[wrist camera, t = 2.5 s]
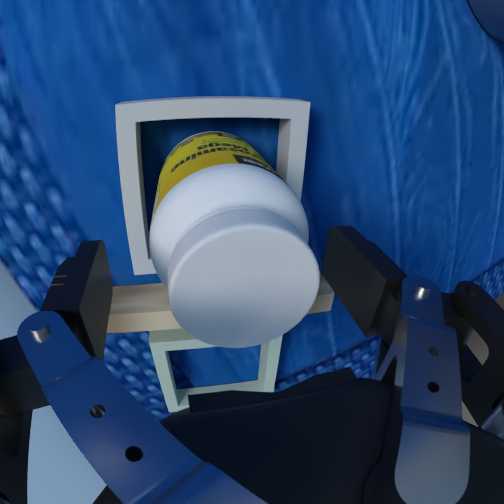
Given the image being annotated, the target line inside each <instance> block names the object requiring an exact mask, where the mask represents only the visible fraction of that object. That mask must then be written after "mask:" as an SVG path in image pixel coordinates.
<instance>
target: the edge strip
mask: <svg viewBox="0 0 504 504" xmlns="http://www.w3.org/2000/svg"><path fill="white" fill-rule="evenodd" d="M319 273H320V283H319V289H318V293H317V296H316V299H315V301H314V303H313V305H312V307H311V308H310V310H309V311H308V313H307V314H311V313H317V312H324V311H330V310H331V306H332V302H333V298H334V294H335V293H334V291H333V290H332V288H331V287H330V285H329V284H328V282H327V281H326V279H325V278H324V276H323V275H322V273H321V272H320V270H319ZM112 288H113V295H112V302H111V308H110V314H109V320H108V327H107V333H120V332H138V331H154V330H168V329H180V328H182V327H181V326H180V325H179V323H178V322H177V320H176V319H175V317H174V315H173V313H172V310H171V307H170V304H169V296H168V289H167V288H166V286H165V285H164V284H163V283H155V284H142V285H127V286H113V287H112Z"/></svg>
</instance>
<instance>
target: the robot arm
mask: <svg viewBox="0 0 504 504" xmlns="http://www.w3.org/2000/svg"><path fill="white" fill-rule="evenodd" d="M468 1H469V4H470V6H471V8H472V10H473V12H474V14H475V16H476V17H477V19H478V20H479V22H480V24H481V25H482V26H483V27H484V29H485V30H486V31H487V32H488V33H489V34H490V35H491V36H492V37H494V38H495V39H497V40H499V41H502V42H504V0H468ZM323 274H324V277H325V279H326V280H327V282H328V283H329V285H330V286H331V288H332V289H333V290H334V292H335V293H336V295H337V296H338V298H339V299H340V300H341V302H342V303H343V305H344V306H345V308H346V309H347V311H348V312H349V313H350V315H351V316H352V318H353V319H354V321H355V322H356V324H357V325H358V327H359V328H360V329H361V331H362V332H363V334H364V335H365V337H369V336H373V335H377V334H379V335H380V336H381V337H380V340H379V342H378V345H377V351H376V357H375V362H374V367H373V373H372V378H371V379H368V378H356V376H355V374H354V373H353V371H352V369H351V367H348V368H344V369H340V370H336V371H332V372H327V373H323V374H318V375H314V376H312V377H310V378H308V379H306V380H304V381H302V382H300V383H298V384H295V385H293V386H291V387H289V388H286V389H284V390H282V391H279V392H256V391H238V390H227V391H219V392H211V393H202V394H192V395H188V402H189V407H188V408H185V409H182V410H180V411H178V412H175V413H173V414H171V415H169V416H168V417H166V418H164V419H163V420H161V421H160V422H158V421H157V420H156V419H155V418H154V417H153V416H152V415H151V414H150V413H149V412H148V411H147V410H146V409H145V408H144V407H143V406H142V405H141V404H140V403H139V402H138V401H137V400H136V399H135V398H134V397H133V396H132V395H131V394H130V392H129V391H128V390H127V389H126V388H125V387H124V386H123V385H122V384H121V383H120V382H119V380H118V379H117V378H116V377H115V376H114V375H113V374H112V372H111V371H110V370H109V369H108V368H107V367H106V366H105V364H104V363H103V357H104V348H105V341H106V334H107V327H108V320H109V314H110V308H111V302H112V295H113V288H112V279H111V274H110V270H109V265H108V260H107V255H106V249H105V245H104V242H103V240H96V241H84V242H81V243H80V246H79V248H78V250H77V253H76V255H75V257H68V258H67V259H66V260H65V261H64V262H63V263H62V264H61V265H60V266H59V267H58V270H57V272H56V274H55V278H53V281H52V283H51V286H50V288H49V290H48V292H47V295H46V297H45V300H44V302H43V305H42V307H41V310H40V312H37V313H34V314H32V315H30V316H29V317H27V318H26V319H25V320H24V321H23V322H22V323H21V324H20V326H19V328H18V331H17V335H16V336H13V337H9V338H5V339H2V340H0V504H27V471H28V451H29V439H30V428H31V419H32V411H33V409H37V408H41V407H44V406H48V405H51V407H52V408H53V410H54V412H55V413H56V415H57V417H58V418H59V420H60V421H61V423H62V424H63V426H64V428H65V429H66V431H67V432H68V434H69V435H70V436H71V438H72V439H73V441H74V442H75V443H76V445H77V447H78V448H79V449H80V451H81V452H82V453H83V455H84V456H85V458H86V459H87V460H88V462H89V463H90V464H91V466H92V467H93V468H94V469H95V471H96V472H97V473H98V474H99V476H100V477H101V478H102V479H103V481H104V482H105V483H106V484H107V486H106V487H105V488H104V490H103V491H102V492H101V494H100V495H99V496H98V497H97V499H96V500H95V501H94V502H93V504H504V310H503V309H502V308H501V307H500V306H499V304H497V302H496V301H495V300H494V299H493V298H492V297H491V296H490V295H489V294H488V293H487V292H486V291H485V290H484V289H483V288H481V287H480V286H478V285H477V284H475V283H472V282H469V281H460V282H459V283H458V284H457V286H456V288H455V291H454V293H441V292H440V290H439V288H438V287H437V286H436V285H435V284H434V283H433V282H431V281H429V280H428V279H425V278H422V277H419V276H407V275H406V274H405V273H404V272H403V271H402V270H401V269H400V268H399V267H398V266H397V265H396V264H395V263H394V262H393V261H392V260H391V259H389V257H388V256H387V255H386V254H385V253H383V251H382V250H381V249H380V248H379V247H378V246H377V245H375V244H374V243H372V242H371V241H369V240H367V239H365V238H364V237H363V236H362V235H361V234H360V233H359V232H358V231H357V230H356V229H355V228H353V227H352V226H333V227H331V228H330V230H329V233H328V238H327V243H326V249H325V254H324V259H323ZM474 329H475V331H477V333H478V334H479V335H480V336H481V338H482V339H483V340H484V341H485V343H486V344H487V346H488V348H489V356H488V358H487V360H486V361H485V363H484V364H483V366H482V365H481V363H480V362H479V361H478V359H477V358H476V357H475V355H474V354H473V353H472V351H471V350H470V349H469V347H468V346H467V345H466V343H467V341H468V339H469V338H470V336H471V334H472V332H473V331H474ZM462 401H463V403H464V404H465V406H466V407H467V409H468V410H469V412H470V414H471V415H472V417H473V419H474V420H475V422H476V423H477V425H478V427H476V426H475V425H472V424H470V423H468V422H466V421H464V420H463V419H462Z"/></svg>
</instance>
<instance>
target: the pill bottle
mask: <svg viewBox="0 0 504 504" xmlns="http://www.w3.org/2000/svg"><path fill="white" fill-rule="evenodd" d="M308 240H309V228H308V221H307V217H306V214H305V211H304V209H303V206H302V204H301V202H300V200H299V199H298V197H297V196H296V194H295V192H294V191H293V190H292V189H291V188H290V187H289V185H288V184H287V183H286V182H285V181H284V180H283V179H282V178H281V177H280V176H279V174H278V173H277V172H276V171H275V170H274V169H273V168H272V167H271V166H270V165H269V164H268V163H267V162H266V161H265V160H264V159H263V158H262V157H261V156H260V155H259V154H258V153H257V151H256V150H254V149H253V148H252V147H251V146H250V145H249V144H248V143H247V142H245V141H244V140H242V139H241V138H239V137H237V136H235V135H232V134H229V133H225V132H219V131H208V132H202V133H198V134H195V135H192V136H190V137H188V138H186V139H185V140H183V141H182V142H180V143H179V144H178V145H177V146H176V147H175V148H174V149H173V150H172V151H171V152H170V153H169V155H168V156H167V158H166V160H165V162H164V164H163V166H162V169H161V172H160V176H159V182H158V187H157V192H156V197H155V203H154V209H153V215H152V221H151V227H150V233H149V243H150V254H151V259H152V262H153V265H154V268H155V271H156V272H157V274H158V276H159V278H160V280H161V281H162V282H163V284H164V285H165V286H166V288H167V289H168V296H169V304H170V307H171V310H172V313H173V315H174V317H175V319H176V320H177V322H178V323H179V325H180V326H181V327H182V328H183V329H184V330H185V331H186V332H187V333H189V334H190V335H191V336H193V337H194V338H196V339H198V340H200V341H202V342H204V343H207V344H210V345H214V346H219V347H225V348H243V347H250V346H255V345H259V344H262V343H266V342H268V341H271V340H273V339H275V338H277V337H279V336H281V335H283V334H285V333H286V332H288V331H289V330H291V329H292V328H293V327H294V326H295V325H297V324H298V323H299V322H300V321H301V320H302V319H303V317H304V316H305V315H306V314H307V313H308V311H309V310H310V308H311V307H312V305H313V303H314V301H315V299H316V296H317V293H318V289H319V283H320V273H319V266H318V263H317V260H316V258H315V255H314V253H313V251H312V250H311V248H310V247H309V245H308Z"/></svg>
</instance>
